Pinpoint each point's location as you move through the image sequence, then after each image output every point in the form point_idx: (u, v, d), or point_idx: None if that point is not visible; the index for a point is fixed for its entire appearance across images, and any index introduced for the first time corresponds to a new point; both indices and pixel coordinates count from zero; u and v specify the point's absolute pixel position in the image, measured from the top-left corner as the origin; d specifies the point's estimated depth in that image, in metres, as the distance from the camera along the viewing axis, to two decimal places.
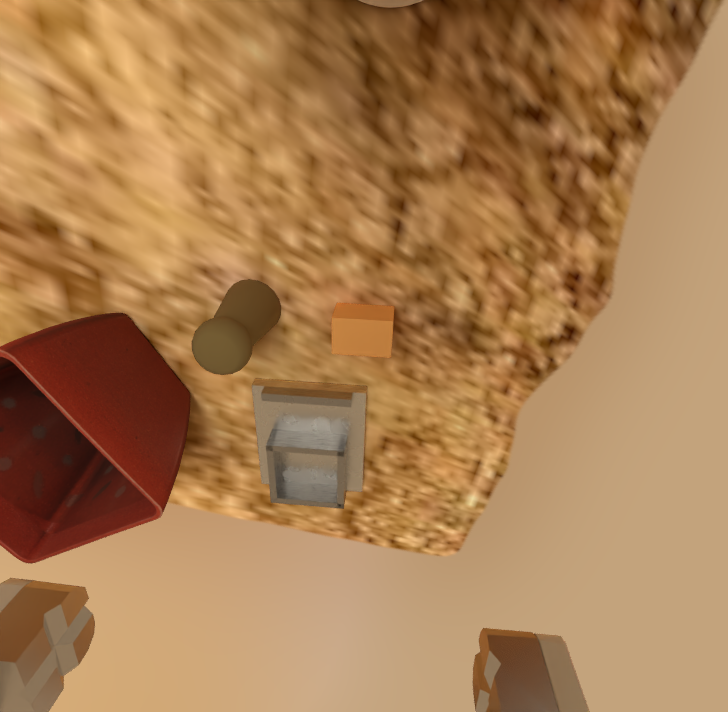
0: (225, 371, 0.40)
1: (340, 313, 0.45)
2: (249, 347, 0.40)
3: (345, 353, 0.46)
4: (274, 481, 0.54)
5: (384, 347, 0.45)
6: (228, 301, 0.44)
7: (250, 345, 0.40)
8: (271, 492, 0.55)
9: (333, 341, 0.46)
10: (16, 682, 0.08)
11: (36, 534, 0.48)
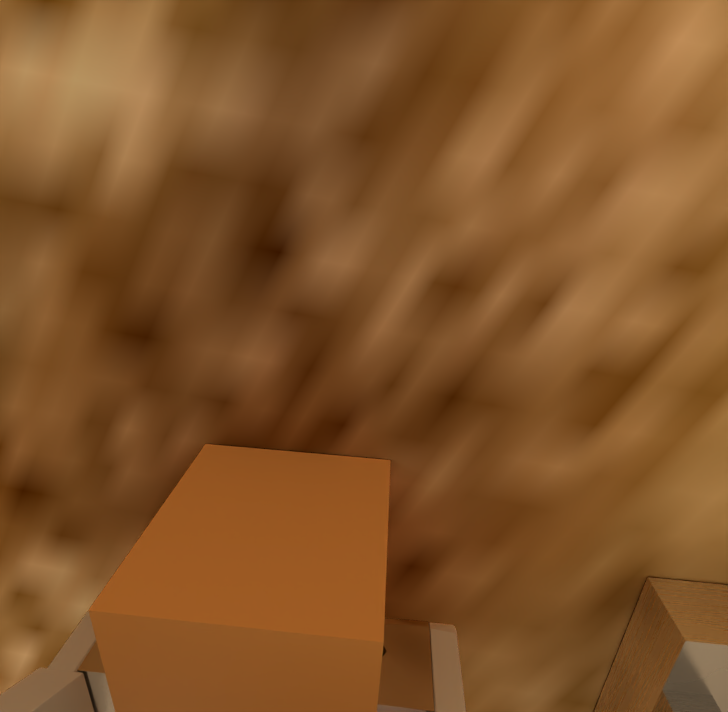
0: None
1: None
2: None
3: None
4: None
5: (297, 669, 0.06)
6: None
7: None
8: None
9: None
10: None
11: None
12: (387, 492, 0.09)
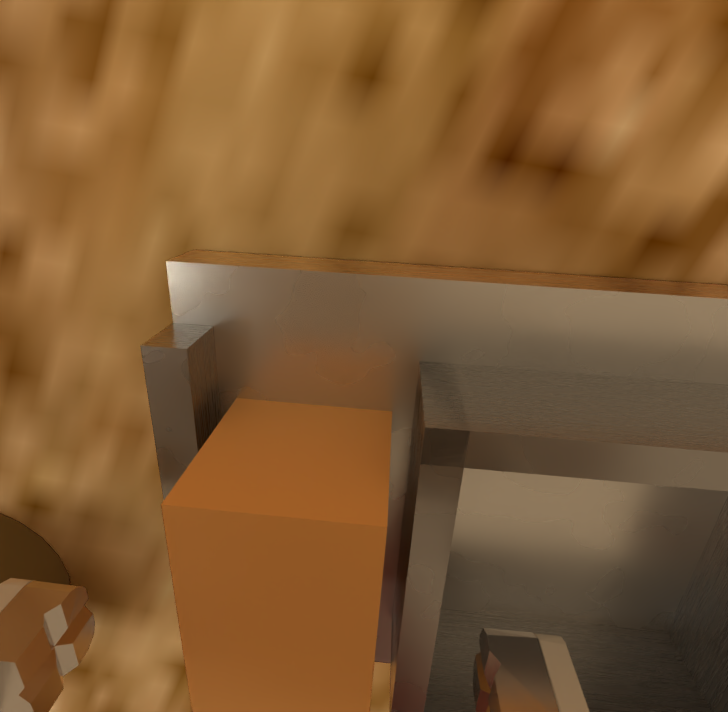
0: None
1: None
2: None
3: (364, 694, 0.10)
4: None
5: (320, 553, 0.08)
6: None
7: None
8: None
9: None
10: (17, 682, 0.08)
11: None
12: (389, 433, 0.11)
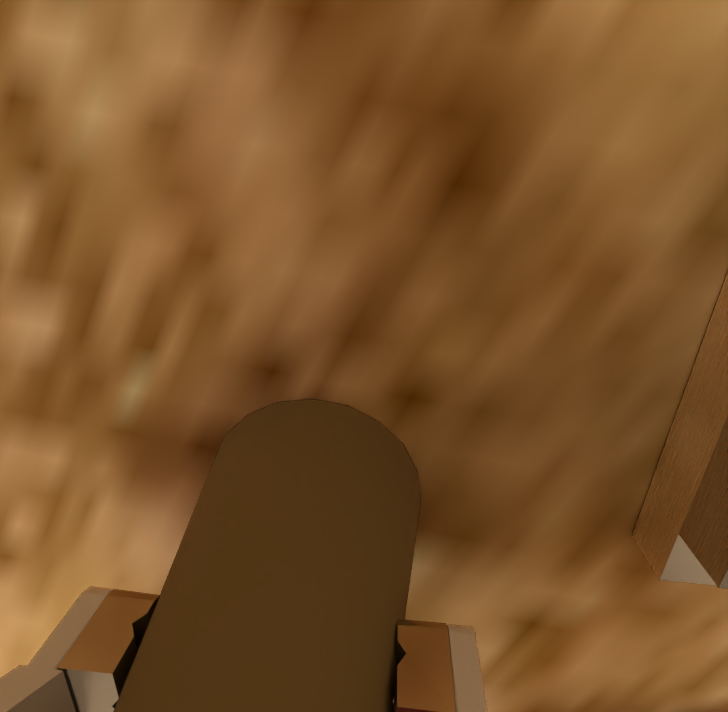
0: None
1: None
2: None
3: None
4: None
5: None
6: None
7: None
8: None
9: None
10: (111, 693, 0.08)
11: None
12: None
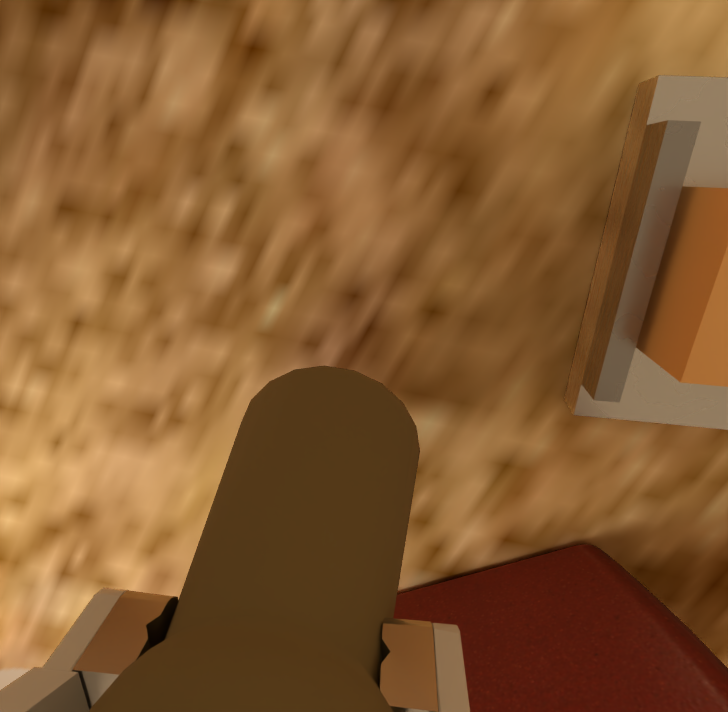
0: None
1: (669, 350, 0.16)
2: None
3: None
4: None
5: None
6: None
7: (196, 698, 0.06)
8: None
9: None
10: None
11: None
12: None
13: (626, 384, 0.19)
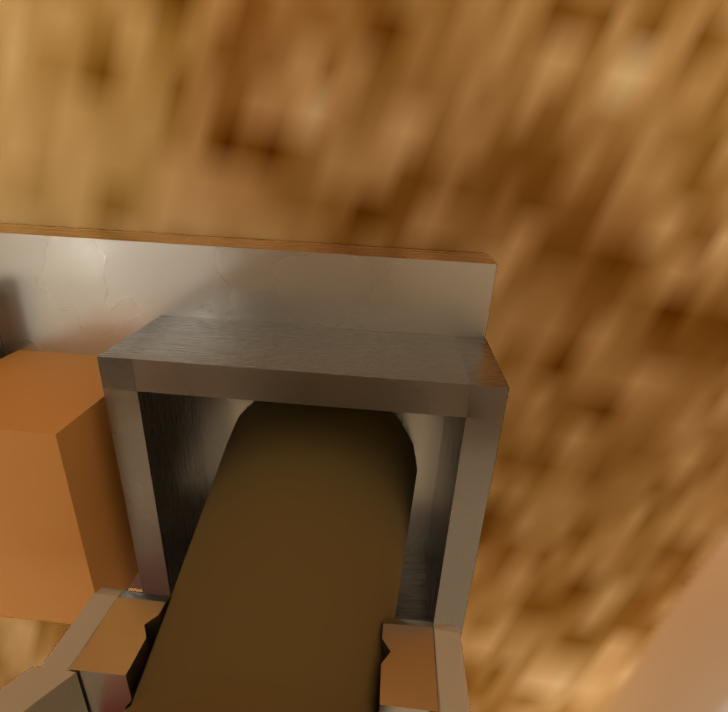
0: None
1: None
2: None
3: (88, 589, 0.12)
4: None
5: (12, 458, 0.10)
6: None
7: None
8: None
9: (51, 616, 0.12)
10: (124, 695, 0.08)
11: None
12: None
13: None
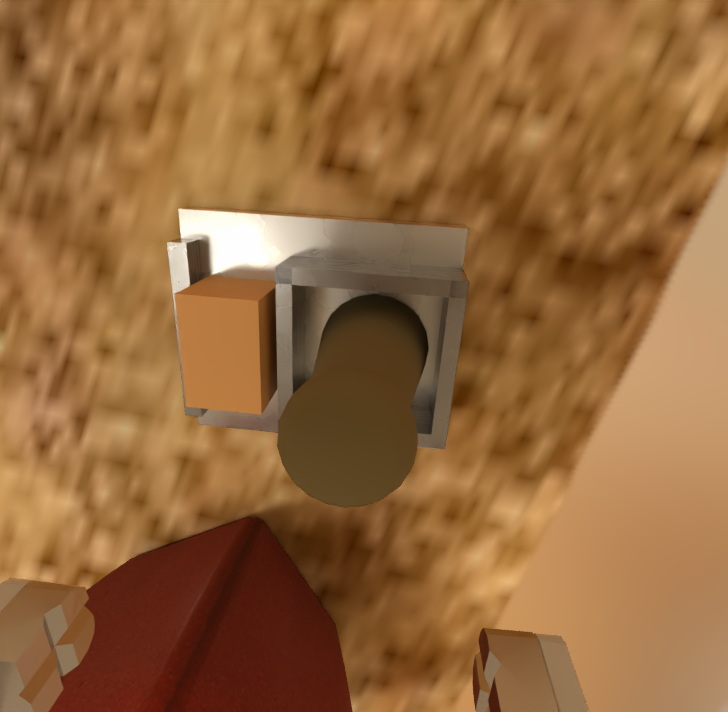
0: (388, 450, 0.15)
1: None
2: (341, 378, 0.16)
3: (257, 390, 0.23)
4: None
5: (234, 314, 0.21)
6: None
7: (339, 375, 0.16)
8: None
9: (234, 408, 0.23)
10: (17, 682, 0.08)
11: None
12: (275, 286, 0.24)
13: None
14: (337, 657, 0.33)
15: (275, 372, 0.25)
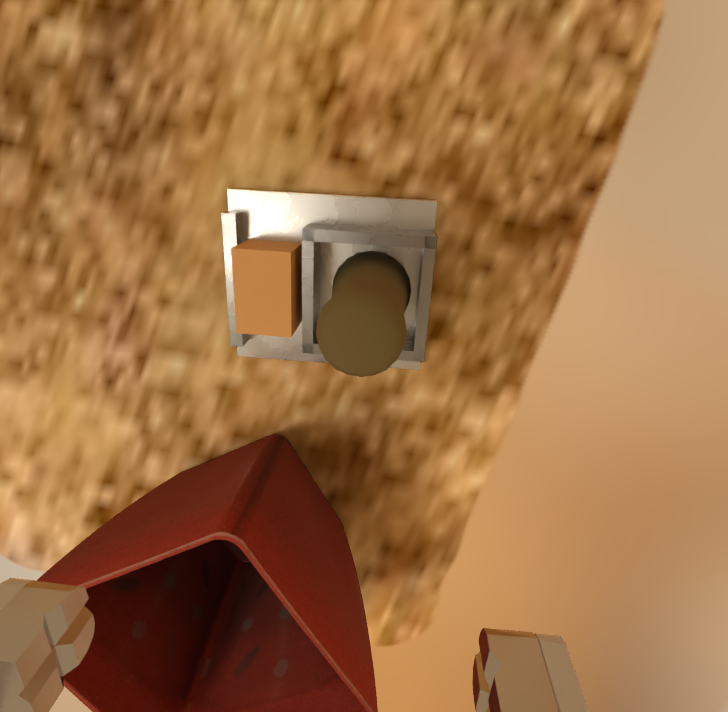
0: (389, 331, 0.25)
1: None
2: (358, 290, 0.25)
3: (289, 318, 0.32)
4: None
5: (273, 262, 0.30)
6: None
7: (356, 288, 0.25)
8: (400, 358, 0.34)
9: (271, 333, 0.32)
10: (16, 682, 0.08)
11: None
12: (299, 245, 0.33)
13: (258, 338, 0.37)
14: (345, 542, 0.42)
15: (298, 310, 0.34)
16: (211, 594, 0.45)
